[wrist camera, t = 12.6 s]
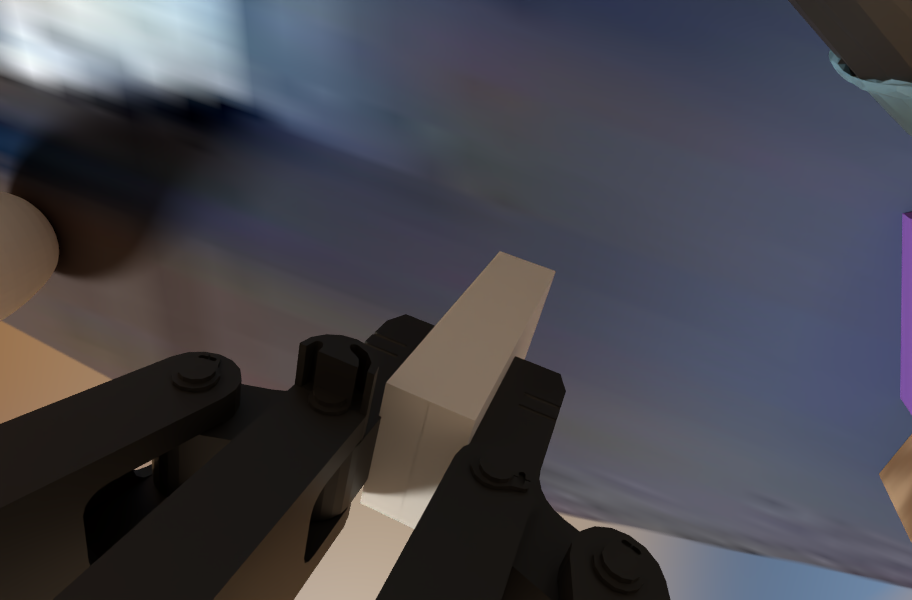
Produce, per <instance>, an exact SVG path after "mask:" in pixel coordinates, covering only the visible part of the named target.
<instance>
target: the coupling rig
mask: <svg viewBox="0 0 912 600" xmlns="http://www.w3.org/2000/svg"><path fill="white" fill-rule="evenodd" d="M879 475H880V478H881V480H882V482H883V484H884V486H885V488H886V490H887V492H888V494H889V496H890V499H891V501H892V503H893V505H894V507H895V509H896V511H897V513H898V515H899V517H900V520H901V522H902V524H903V526H904V528H905V530H906V532H907V534H908V536H909V538H910V541H911V542H912V434H911V436H910V437H909V438H908V439H907V440H906V442H905V443H904V444H903V445H902V447H901V448H900V449H899V450H898V451H897V453H896V454H895V455H894V456H893V458H892V459H891V460H890V461H889V462H888V464H887V465H886V466H885V467H884V469H883V470H882V471H881V472H880V473H879Z"/></svg>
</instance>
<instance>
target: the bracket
mask: <svg viewBox="0 0 912 600" xmlns="http://www.w3.org/2000/svg"><path fill="white" fill-rule="evenodd" d="M900 398H901V399H902V401H903V402H904V404H905V406H906V407H907V409H908V410H909V412H910V413H911V415H912V212H909V213H903V217H902V303H901V388H900Z"/></svg>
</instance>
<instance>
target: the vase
mask: <svg viewBox="0 0 912 600" xmlns="http://www.w3.org/2000/svg"><path fill="white" fill-rule="evenodd" d="M58 257H59V245H58V241H57V237H56V234H55V232H54V230H53V228H52V226H51V224H50V223H49V221H48V220H47V218H46V217H45V216H44V215H43V214H42V213H41V212H40V210H38V209H37V208H36V207H35V206H33V205H32V204H30V203H29V202H28V201H26V200H24V199H22V198H20V197H18V196H15V195H12V194H10V193H6V192H3V191H0V321H2V320H3V319H5V318H6V317H8V316H9V315H11V314H12V313H13V312H15V311H16V310H18V309H19V308H20V307H21V306H23V305H24V304H25V303H26V302H27V301H29V300H30V299H31V298H32V297H33V296H34V295H35V294H36V293H37V292H38V291H39V290H40V289H41V288H42V287H43V286H44V284H45V283H46V282H47V281H48V280H49V278H50V277H51V275H52V274H53V272H54V270H55V268H56V266H57V263H58Z"/></svg>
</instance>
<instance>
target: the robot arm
mask: <svg viewBox="0 0 912 600" xmlns="http://www.w3.org/2000/svg"><path fill="white" fill-rule="evenodd" d="M788 1H789V2H790V3H791V4H792V5H793V6H794V8H795V9H796V10H797V11H798V12H799V13H800V15H801V16H802V17H803V18H804V19H805V20H806V22H807V23H808V24H809V25H810V26H811V27H812V28H813V30H814V31H815V32H816V33H817V34H818V35H819V37H820V38H821V39H822V40H823V41H824V42H825V44H826V45H827V46H828V47H829V48H830V52H829V58H830V61H831V63H832V65H833V66H834V68H835V70H836V71H837V72H838V73H839V74H840V76H841V77H842V78H844V79H845V80H847V81H848V82H851V83H853V84H854V85H856V86H857V87H859V88H860V89H862V90H865V91H867V92H868V93H869V94H870V95H871V96H872V97H873V98H874V99H875V100H876V101H877V102H878V103H879V104H880V105H881V106H882V107H883V108H884V109H885V110H886V111H887V113H888V114H889V115H890V116H891V117H892V118H893V119H894V120H895V121H896V122H897V123H898V124H899V125H900V126H901V127H902V128H903V129H904V130H905V131H906V132H907V133H908V134H909V135H910V136H911V137H912V0H788ZM555 272H556V271H553V270H550V269H548V268H545V267H542V266H539V265H537V264H534V263H531V262H528V261H525V260H523V259H520V258H517V257H514V256H512V255H509V254H506V253H503V252H501V251H500V252H499V253H498V254H497V255H496V256H495V257H494V259H493V260H492V261H491V262H490V263H489V264H488V266H487V267H486V268H485V269H484V270H483V271H482V272H481V274H480V275H479V276H478V277H477V278H476V279H475V281H474V282H473V283H472V284H471V285H470V286H469V288H468V289H467V290H466V291H465V292H464V293H463V294H462V296H461V297H460V298H459V299H458V300H457V301H456V303H455V304H454V305H453V306H452V307H451V308H450V309H449V311H448V312H447V313H446V314H445V315H444V316H443V318H442V319H441V320H440V321H439V322H438V323H437V324H436V326H434V325H432V324H429V323H427V322H424V321H422V320H419V319H417V318H414V317H412V316H409V315H407V314H405V315H402V316H399V317H396V318H394V319H391V320H388V321H386V322H385V323H384V324H383V325H382V326H381V327H380V328H379V329H378V330H377V331H376V332H375V334H374V335H373V334H372V335H371V336H370V337H369V338H368V339H367V340H366V341H365V343H362V342H361V341H359V340H357V339H353V338H350V337H346V336H343V335H328V334H326V335H320V336H314V337H311V338H309V339H307V340H305V341H303V342H301V343H300V345H299V354H298V362H297V371H296V379H295V385H293V386H292V387H291V388H290V389H289V390H288V391H281V390H271V389H266V388H260V387H255V386H249V385H244V384H241V372H240V368H239V367H238V366H237V365H236V364H235V363H234V362H233V361H232V360H230V359H228V358H226V357H224V356H222V355H219V354H214V353H208V352H187V353H183V354H179V355H176V356H172V357H169V358H167V359H164V360H161V361H159V362H156V363H154V364H151V365H149V366H146V367H144V368H141V369H139V370H136V371H134V372H131V373H128V374H126V375H123V376H121V377H118V378H116V379H113V380H111V381H108V382H106V383H103V384H101V385H98V386H95V387H93V388H91V389H88V390H85V391H83V392H80V393H78V394H75V395H73V396H70V397H68V398H65V399H62V400H60V401H57V402H55V403H52V404H50V405H47V406H45V407H42V408H40V409H37V410H34V411H32V412H30V413H27V414H24V415H22V416H19V417H17V418H14V419H12V420H9V421H7V422H4V423H2V424H0V600H294V598H295V597H296V595H297V594H298V593H299V591H300V590H301V588H302V587H303V585H304V584H305V582H306V581H307V580H308V578H309V577H310V575H311V574H312V572H313V571H314V569H315V568H316V566H317V565H318V564H319V562H320V561H321V559H322V558H323V556H324V555H325V553H326V552H327V551H328V549H329V548H330V546H331V544H332V543H333V542H334V540H335V539H336V537H337V536H338V535H339V533H340V532H341V530H342V529H343V527H344V525H345V523H346V520H347V518H348V515H349V510H350V506H351V502H352V500H353V499H354V497H355V496H356V494H357V493H358V492H359V490H360V489H361V488H362V486H363V485H364V487H363V492H362V497H361V501H360V503H361V504H363V505H365V506H367V507H369V508H371V509H373V510H376V511H378V512H380V513H382V514H384V515H386V516H388V517H390V518H392V519H394V520H396V521H398V522H400V523H403V524H405V525H407V526H409V527H411V528H413V529H414V531H413V532H412V534H411V536H410V538H409V540H408V542H407V543H406V545H405V547H404V549H403V551H402V552H401V555H400V556H399V558H398V560H397V562H396V564H395V565H394V567H393V569H392V571H391V573H390V575H389V576H388V578H387V580H386V582H385V584H384V585H383V587H382V589H381V591H380V593H379V594H378V596H377V598H376V600H670V596H669V592H668V588H667V584H666V580H665V578H664V575H663V573H662V571H661V568H660V566H659V564H658V562H657V561H656V560H655V559H654V558H653V556H652V555H651V554H650V553H649V551H648V550H647V549H646V548H645V547H644V546H643V545H641V544H640V543H639V542H637V541H636V540H634V539H633V538H632V537H631V536H629V535H627V534H625V533H622V532H620V531H617V530H615V529H613V528H606V527H596V526H595V527H592V528H588V529H585V530H582V531H578V530H577V529H576V528H574V527H573V526H572V525H571V524H569V523H568V522H567V521H565V520H564V519H563V518H562V517H561V516H560V515H559V514H558V513H557V512H556V511H554V509H553V508H552V507H551V505H550V504H549V503H548V501H547V500H546V498H545V496H544V494H543V492H542V490H541V485H540V480H539V477H540V470H541V467H542V464H543V461H544V458H545V454H546V451H547V448H548V445H549V442H550V439H551V436H552V433H553V429H554V426H555V423H556V420H557V417H558V414H559V411H560V407H561V405H562V401H563V398H564V395H565V392H566V390H565V387H564V384H563V381H562V378H561V375H560V374H559V373H556V372H554V371H551V370H549V369H546V368H544V367H541V366H539V365H536V364H534V363H531V362H529V361H526V360H524V359H525V357H526V354H527V351H528V348H529V345H530V342H531V340H532V337H533V334H534V331H535V328H536V325H537V323H538V320H539V317H540V314H541V311H542V308H543V306H544V303H545V300H546V297H547V294H548V292H549V289H550V286H551V283H552V280H553V277H554V275H555ZM151 460H152V464H151V465H149V466H147V467H144V468H141V469H139V470H134V469H136V468H137V467H139V466H141V465H143V464H145V463H147V462H149V461H151Z"/></svg>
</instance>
